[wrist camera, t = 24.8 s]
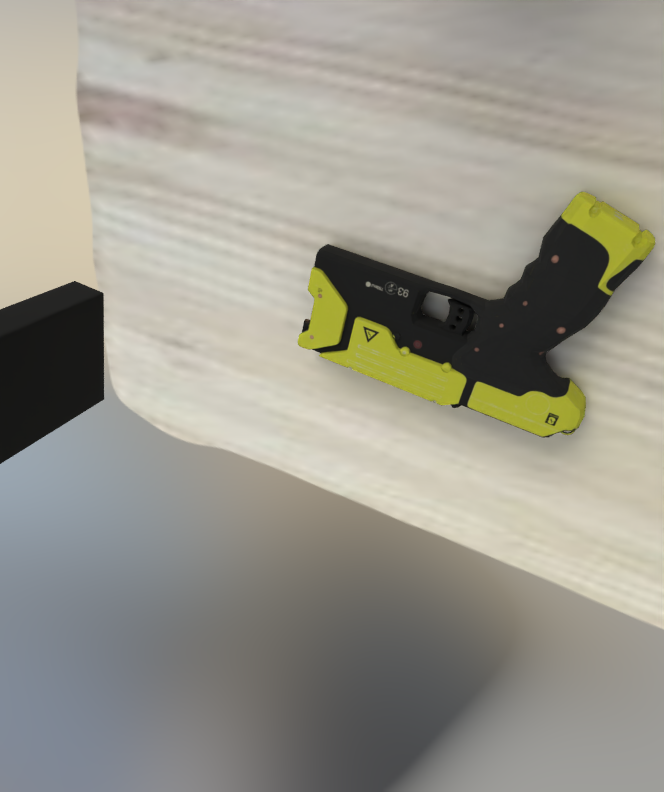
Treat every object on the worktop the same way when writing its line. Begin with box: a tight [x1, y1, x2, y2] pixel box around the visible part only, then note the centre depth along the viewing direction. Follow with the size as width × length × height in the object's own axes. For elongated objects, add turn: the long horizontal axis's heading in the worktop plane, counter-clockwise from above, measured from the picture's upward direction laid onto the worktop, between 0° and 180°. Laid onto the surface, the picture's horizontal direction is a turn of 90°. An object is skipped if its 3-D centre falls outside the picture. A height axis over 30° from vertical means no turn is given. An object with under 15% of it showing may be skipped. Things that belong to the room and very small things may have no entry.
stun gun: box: [298, 192, 655, 438], centre depth 37 cm, size 3×19×15 cm
